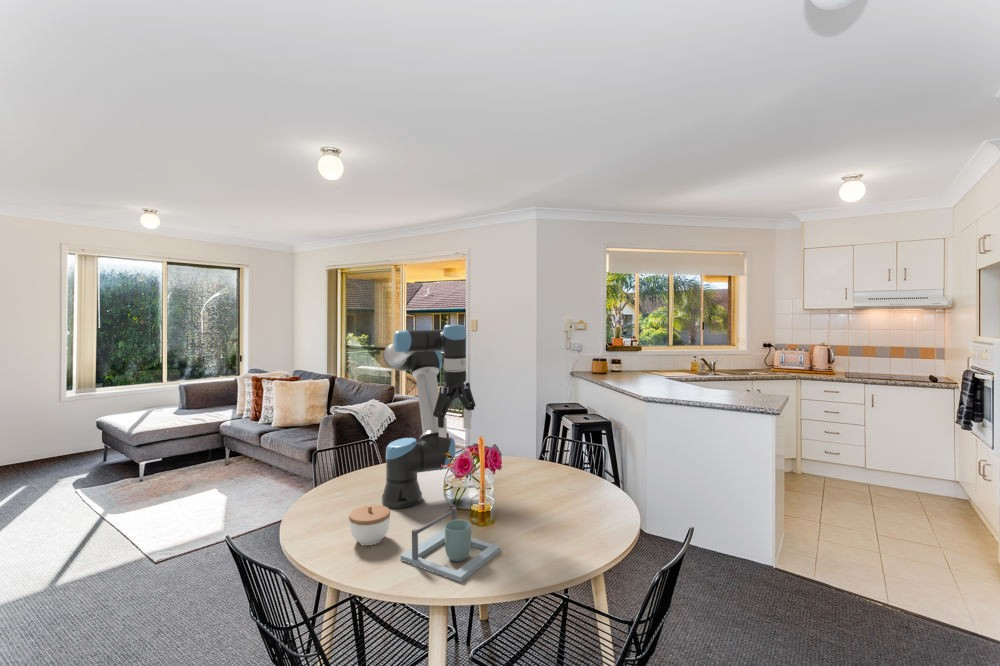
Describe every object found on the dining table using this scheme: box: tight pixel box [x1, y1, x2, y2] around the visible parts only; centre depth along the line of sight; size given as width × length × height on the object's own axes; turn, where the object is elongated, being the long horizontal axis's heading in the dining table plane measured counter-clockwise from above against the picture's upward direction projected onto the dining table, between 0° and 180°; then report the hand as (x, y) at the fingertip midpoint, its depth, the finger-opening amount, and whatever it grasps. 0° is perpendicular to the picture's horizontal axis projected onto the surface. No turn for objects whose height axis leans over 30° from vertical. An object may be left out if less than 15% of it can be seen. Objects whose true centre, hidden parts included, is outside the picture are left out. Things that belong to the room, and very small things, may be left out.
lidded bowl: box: [348, 504, 391, 546], centre depth 154 cm, size 13×13×11 cm
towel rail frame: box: [399, 506, 501, 583], centre depth 144 cm, size 22×20×10 cm
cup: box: [444, 518, 472, 562], centre depth 143 cm, size 8×8×10 cm
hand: (455, 432), depth 164 cm, fingers open, 13 cm apart
